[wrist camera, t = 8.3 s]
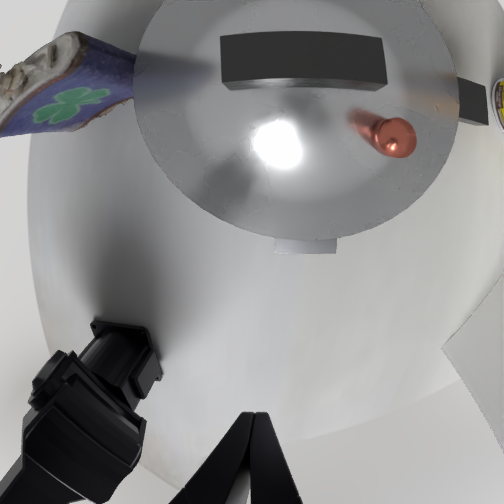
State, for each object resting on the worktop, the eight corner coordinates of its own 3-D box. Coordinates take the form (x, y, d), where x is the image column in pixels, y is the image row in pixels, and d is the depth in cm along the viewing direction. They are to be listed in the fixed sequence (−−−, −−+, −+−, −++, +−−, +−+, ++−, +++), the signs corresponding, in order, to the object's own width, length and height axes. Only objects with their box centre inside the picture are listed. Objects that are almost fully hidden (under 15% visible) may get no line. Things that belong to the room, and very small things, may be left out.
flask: (69, 136, 18) (-40, 152, 8) (64, 105, 17) (-42, 107, 7) (167, 88, 16) (56, 49, 6) (159, 53, 15) (56, -1, 5)
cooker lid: (157, 234, 14) (131, 254, 12) (149, -20, 9) (126, -41, 6) (443, 233, 12) (471, 252, 10) (421, -22, 7) (439, -43, 4)
